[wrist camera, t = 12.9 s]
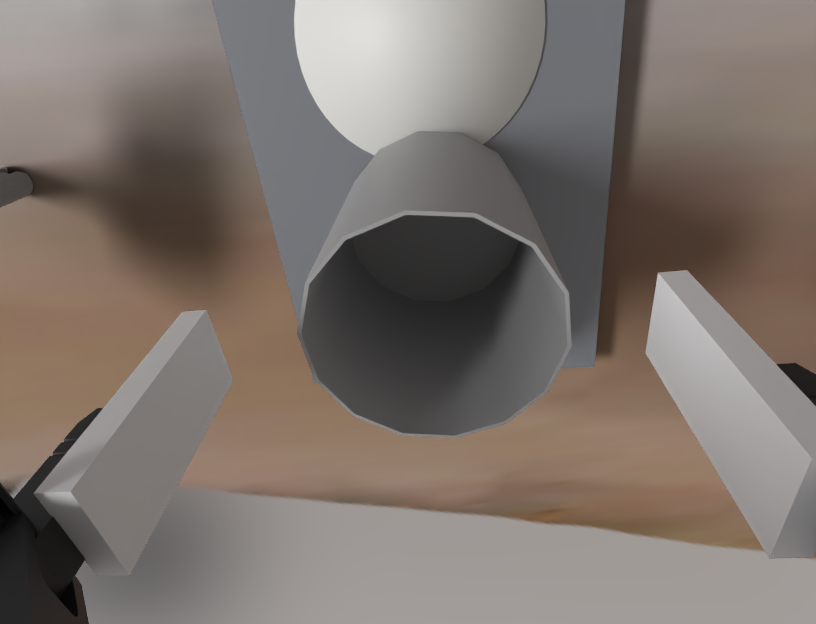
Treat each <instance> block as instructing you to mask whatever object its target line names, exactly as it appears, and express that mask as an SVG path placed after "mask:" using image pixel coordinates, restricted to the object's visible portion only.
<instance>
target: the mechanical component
mask: <svg viewBox="0 0 816 624" xmlns="http://www.w3.org/2000/svg"><path fill="white" fill-rule="evenodd" d="M32 190H33V183H32V180H31V178H30V177H29V176H28V174H26V173H23V172H18V171H16V172H14V173H11V174H8V171H7V168H6V167H3V168H0V207H2V206H5V205H7V204H9V203H12V202H14V201H16V200H18V199H21V198H23V197H25V196H28V195H30V194H31V193H32Z"/></svg>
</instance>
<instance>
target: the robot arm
mask: <svg viewBox="0 0 816 624" xmlns="http://www.w3.org/2000/svg"><path fill="white" fill-rule="evenodd" d="M646 355H647V356H648V358H649V360H650V361H651V363H652V365H653V366H654V368H655V370H656V371H657V373H658V375H659V376H660V378H661V380H662V381H663V383H664V385H665V386H666V388H667V390H668V391H669V393H670V395H671V396H672V398H673V400H674V401H675V403H676V405H677V406H678V408H679V410H680V411H681V413H682V415H683V416H684V418H685V420H686V421H687V423H688V424H689V426H690V428H691V429H692V431H693V433H694V434H695V436H696V438H697V439H698V441H699V443H700V444H701V446H702V448H703V449H704V451H705V453H706V454H707V456H708V458H709V459H710V461H711V463H712V464H713V466H714V468H715V469H716V471H717V473H718V474H719V476H720V478H721V479H722V481H723V483H724V484H725V486H726V488H727V489H728V491H729V493H730V494H731V496H732V498H733V499H734V501H735V503H736V504H737V506H738V507H739V509H740V511H741V512H742V514H743V516H744V517H745V519H746V521H747V522H748V524H749V526H750V527H751V529H752V531H753V532H754V534H755V536H756V537H757V539H758V541H759V542H760V544H761V546H762V547H763V549H764V551H765V552H766V554H767V556H768V557H769V558H771V559H772V558H810V557H813V555H814V553H815V551H816V374H814V373H812V372H810V371H809V370H807V369H805V368H803V367H802V366H800V365H798V364H796V363H789V364H775V363H774V362H773V361H772V359H771V358H770V357H769V356H768V355H767V354H766V353H765V352H764V351H763V350H762V349H761V348H760V347H759V346H758V345H757V344H756V343H755V342H754V340H753V339H752V338H751V337H750V336H749V335H748V334H747V333H746V332H745V331H744V330H743V329H742V328H741V327H740V326H739V325H738V324H737V322H736V321H735V320H734V319H733V318H732V317H731V316H730V315H729V314H728V313H727V312H726V311H725V310H724V309H723V308H722V307H721V306H720V304H719V303H718V302H717V301H716V300H715V299H714V298H713V297H712V296H711V295H710V294H709V293H708V292H707V291H706V290H705V289H704V288H703V287H702V285H701V284H700V283H699V282H698V281H697V280H696V279H695V278H694V277H693V276H692V275H691V274H690V273H689V272H688V271H687V270H683V271H671V272H659V273H658V276H657V282H656V289H655V295H654V301H653V308H652V314H651V321H650V327H649V333H648V340H647V346H646ZM233 381H234V380H233V378H232V375H231V373H230V370H229V367H228V365H227V362H226V360H225V357H224V355H223V352H222V349H221V347H220V344H219V342H218V339H217V336H216V334H215V331H214V329H213V326H212V323H211V321H210V318H209V316H208V313H207V310H198V311H185V312H182V313H181V314H180V315H179V316H178V318H177V319H176V320H175V321H174V323H173V324H172V325H171V326H170V327H169V329H168V330H167V331H166V332H165V333H164V335H163V336H162V337H161V338H160V340H159V341H158V342H157V343H156V344H155V346H154V347H153V348H152V349H151V351H150V352H149V353H148V354H147V355H146V357H145V358H144V359H143V360H142V362H141V363H140V364H139V365H138V366H137V368H136V369H135V370H134V371H133V373H132V374H131V375H130V376H129V377H128V379H127V380H126V381H125V382H124V383H123V385H122V386H121V387H120V388H119V390H118V391H117V392H116V393H115V394H114V396H113V397H112V398H111V399H110V401H109V402H108V403H107V404H106V405H105V407H104V408H97V409H96V410H95V411H93V412H92V413H91V414H89V415H88V416H87V417H85V418H84V419H83V420H81V421H80V422H79V423H78V424H77V425H76V426H75V427H74V428H73V429H72V431H71V432H70V433H69V434H68V435H67V436H66V438H65V439H64V442H63V443H60V445H59V446H58V447H57V448H56V449H55V451H54V452H53V456H49V458H48V459H47V460H46V461H45V462H44V463H43V465H42V466H41V467H40V468H39V469H38V470H37V472H36V473H35V474H34V475H33V476H32V478H31V479H30V480H29V481H28V482H27V483H26V485H25V486H24V487H23V488H22V489H21V491H20V492H19V493H18V494H17V495H16V496H15V498H14V499H13V498H12V497H11V495H10V494H9V493H8V492H7V491H6V489H5V488H4V487H3V486H2V484H1V483H0V624H89V623H88V617H87V612H86V606H85V601H84V596H83V590H82V585H81V584H80V582H79V580H78V579H77V577H76V576H75V574H76V573H77V571H78V570H79V568H80V567H81V565H82V563H83V562H84V560H85V561H86V563H87V564H88V565H89V566H90V568H91V569H92V570H93V572H94V573H95V574H96V576H119V575H130V573H131V571H132V569H133V568H134V566H135V564H136V562H137V560H138V558H139V556H140V555H141V553H142V551H143V549H144V547H145V545H146V543H147V541H148V540H149V537H150V536H151V534H152V532H153V530H154V528H155V526H156V525H157V523H158V521H159V519H160V517H161V515H162V513H163V512H164V510H165V508H166V506H167V504H168V502H169V500H170V498H171V496H172V495H173V493H174V491H175V489H176V487H177V485H178V483H179V482H180V480H181V478H182V476H183V474H184V472H185V470H186V468H187V467H188V465H189V463H190V461H191V459H192V457H193V455H194V454H195V452H196V450H197V448H198V446H199V444H200V442H201V440H202V439H203V437H204V435H205V433H206V431H207V429H208V427H209V425H210V424H211V422H212V420H213V418H214V416H215V414H216V412H217V410H218V409H219V407H220V405H221V403H222V401H223V399H224V397H225V396H226V394H227V392H228V390H229V388H230V386H231V384H232V382H233Z"/></svg>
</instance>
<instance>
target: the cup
mask: <svg viewBox="0 0 816 624" xmlns="http://www.w3.org/2000/svg"><path fill="white" fill-rule="evenodd" d="M297 335H298V337H299V340H300V343H301V345H302V348H303V350H304V353H305V356H306V358H307V361H308V363H309V366H310V369H311V371H312V374H313V376H314V379H315V381H316V382H317V383H318V384H319V385H320V386H321V387H322V388H323V389H325V390H326V391H327V392H328V393H329V394H330V395H331V396H332V397H333V398H334V399H335V400H336V401H337V402H338V403H339V404H340V405H342V406H343V407H344V408H345V409H346V410H347V411H348V412H349V413H350V414H351V415H352V416H354V417H357V418H359V419H362V420H364V421H367V422H369V423H372V424H374V425H377V426H379V427H381V428H384V429H386V430H389V431H391V432H394V433H396V434H399V435H401V436H421V437H441V438H457V437H461V436H464V435H468V434H471V433H475V432H478V431H482V430H485V429H489V428H492V427H496V426H499V425H503V424H506V423H508V422H509V421H510V420H512V419H513V418H514V417H516V416H517V415H518V414H519V413H521V412H522V411H523V410H525V409H526V408H527V407H529V406H530V405H531V404H533V403H534V402H535V401H537V400H538V399H539V398H541V397H542V396H543V395H545V394H546V393H547V392H548V391H549V389H550V387H551V385H552V383H553V381H554V379H555V378H556V376H557V374H558V372H559V370H560V368H561V366H562V364H563V362H564V360H565V358H566V356H567V354H568V352H569V350H570V348H571V347H572V340H571V321H570V303H569V292H568V290H567V287H566V285H565V283H564V281H563V279H562V276H561V274H560V272H559V270H558V268H557V266H556V263H555V261H554V259H553V257H552V255H551V252H550V250H549V248H548V246H547V244H546V241H545V239H544V237H543V235H542V233H541V231H540V228H539V226H538V224H537V222H536V220H535V217H534V215H533V213H532V211H531V209H530V206H529V204H528V202H527V200H526V198H525V196H524V193H523V191H522V189H521V187H520V185H519V184H518V182H517V181H516V179H515V178H514V176H513V175H512V173H511V172H510V170H509V169H508V167H507V166H506V164H505V163H504V161H503V160H502V158H501V157H500V155H499V153H497V152H496V151H494V150H492V149H490V148H488V147H486V146H485V145H483V144H481V143H479V142H477V141H475V140H474V139H472V138H470V137H468V136H466V135H464V134H463V133H456V132H420V131H418V132H416V133H413V134H411V135H409V136H407V137H405V138H403V139H401V140H399V141H396V142H394V143H392V144H390V145H388V146H386V147H384V148H381V149H379V151H378V152H377V153H376V154H375V156H374V157H373V158H372V160H371V161H370V162H369V163H368V165H367V166H366V167H365V169H364V170H363V171H362V172H361V174H360V175H359V176H358V178H357V179H356V180H355V181H354V184H353V186H352V188H351V190H350V192H349V194H348V196H347V198H346V200H345V202H344V204H343V206H342V208H341V210H340V212H339V214H338V216H337V218H336V220H335V222H334V224H333V226H332V228H331V231H330V233H329V235H328V237H327V239H326V241H325V243H324V245H323V247H322V249H321V251H320V253H319V255H318V257H317V259H316V261H315V263H314V265H313V267H312V269H311V271H310V273H309V276H308V278H307V280H306V282H305V287H304V293H303V300H302V306H301V313H300V319H299V325H298V332H297Z"/></svg>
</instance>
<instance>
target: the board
mask: <svg viewBox="0 0 816 624" xmlns="http://www.w3.org/2000/svg"><path fill="white" fill-rule="evenodd" d="M212 3H213V7H214V11H215V14H216V18H217V22H218V26H219V29H220V33H221V37H222V40H223V44H224V48H225V52H226V55H227V59H228V63H229V67H230V70H231V74H232V78H233V81H234V85H235V89H236V93H237V96H238V100H239V104H240V108H241V111H242V115H243V119H244V122H245V126H246V130H247V134H248V137H249V141H250V145H251V149H252V152H253V156H254V160H255V163H256V167H257V171H258V175H259V178H260V182H261V186H262V190H263V193H264V197H265V201H266V205H267V208H268V212H269V216H270V219H271V223H272V227H273V231H274V234H275V238H276V242H277V246H278V249H279V253H280V257H281V260H282V264H283V268H284V272H285V275H286V279H287V283H288V287H289V290H290V294H291V298H292V301H293V305H294V309H295V313H296V316H297V320H298V324H299V319H300V313H301V306H302V300H303V293H304V287H305V282H306V280H307V278H308V276H309V273H310V271H311V269H312V267H313V265H314V263H315V261H316V259H317V257H318V255H319V253H320V251H321V249H322V247H323V245H324V243H325V241H326V239H327V237H328V235H329V233H330V231H331V228H332V226H333V224H334V222H335V220H336V218H337V216H338V214H339V212H340V210H341V208H342V206H343V204H344V202H345V200H346V198H347V196H348V194H349V192H350V190H351V188H352V186H353V184H354V181H355V180H356V179H357V178H358V176H359V175H360V174H361V172H362V171H363V170H364V169H365V167H366V166H367V165H368V163H369V162H370V161H371V160H372V158H373V157H374V156H375V154H376V153H377V152H378V151H379V149H381V148H384V147H386V146H388V145H390V144H392V143H394V142H396V141H399V140H401V139H403V138H405V137H407V136H409V135H411V134H413V133H416V132H418V131H420V132H456V133H463V134H464V135H466V136H468V137H470V138H472V139H474V140H475V141H477V142H479V143H481V144H483V145H485V146H486V147H488V148H490V149H492V150H494V151H496V152H497V153H499V155H500V157H501V158H502V160H503V161H504V163H505V164H506V166H507V167H508V169H509V170H510V172H511V173H512V175H513V176H514V178H515V179H516V181H517V182H518V184H519V185H520V187H521V189H522V191H523V193H524V196H525V198H526V200H527V202H528V204H529V206H530V209H531V211H532V213H533V215H534V217H535V220H536V222H537V224H538V226H539V228H540V231H541V233H542V235H543V237H544V239H545V241H546V244H547V246H548V248H549V250H550V252H551V255H552V257H553V259H554V261H555V263H556V266H557V268H558V270H559V272H560V274H561V276H562V279H563V281H564V283H565V285H566V287H567V290H568V292H569V303H570V321H571V340H572V347H571V348H570V350H569V352H568V354H567V356H566V358H565V360H564V362H563V364H562V366H561V368H574V367H591V366H595V357H596V345H597V333H598V321H599V309H600V297H601V285H602V273H603V261H604V249H605V237H606V226H607V214H608V202H609V190H610V178H611V166H612V154H613V142H614V130H615V118H616V106H617V94H618V82H619V70H620V59H621V47H622V35H623V23H624V11H625V0H212ZM311 372H312V371H311ZM312 376H313V374H312ZM313 380H314V383H317V382H316V381H315V379H314V376H313Z"/></svg>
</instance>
